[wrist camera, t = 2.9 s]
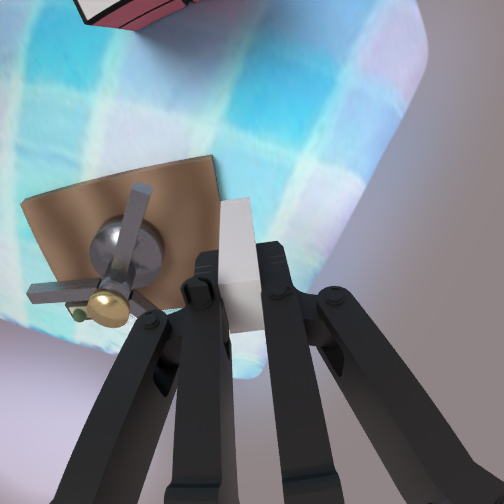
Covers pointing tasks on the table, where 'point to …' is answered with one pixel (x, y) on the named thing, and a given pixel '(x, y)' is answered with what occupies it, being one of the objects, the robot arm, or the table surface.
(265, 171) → the table surface
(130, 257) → the cam capstan
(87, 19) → the puzzle cube
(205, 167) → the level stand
